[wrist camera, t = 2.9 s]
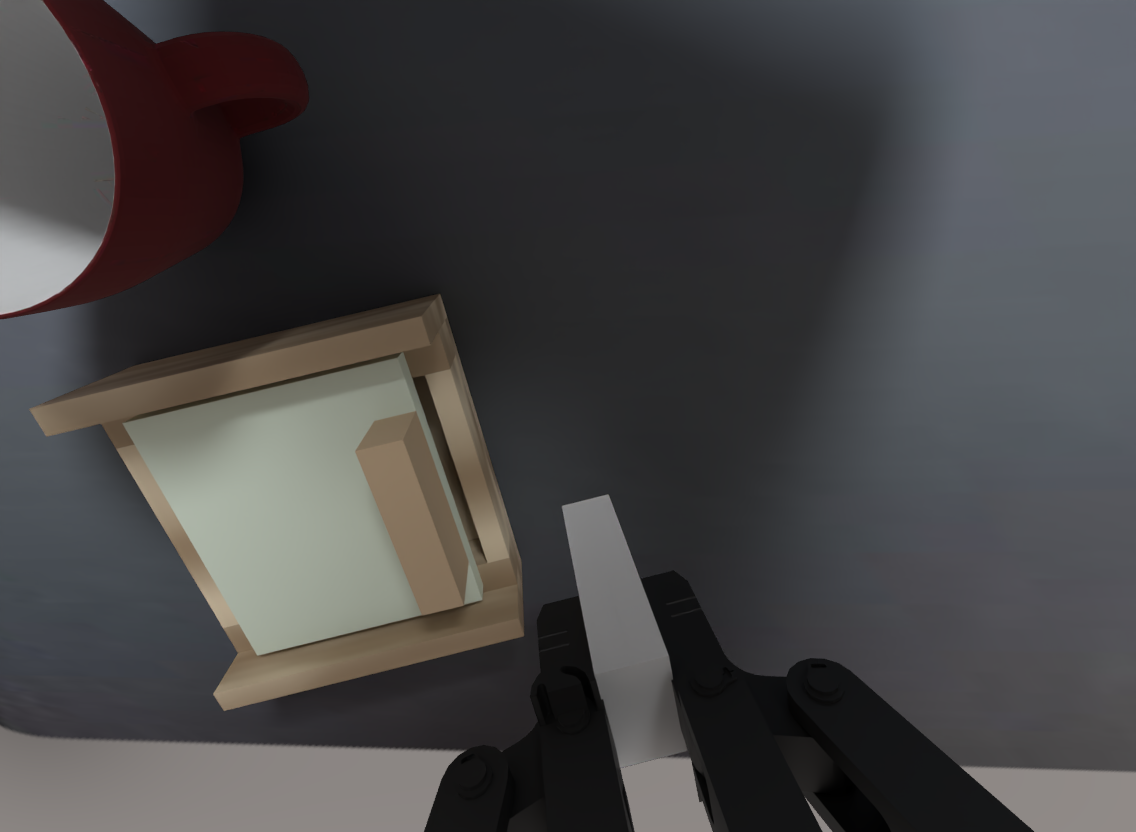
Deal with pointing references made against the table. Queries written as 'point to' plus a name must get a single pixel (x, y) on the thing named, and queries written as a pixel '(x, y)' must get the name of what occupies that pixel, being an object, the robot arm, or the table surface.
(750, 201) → the table surface
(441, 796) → the robot arm
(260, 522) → the lid
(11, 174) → the mug
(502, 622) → the birch box
